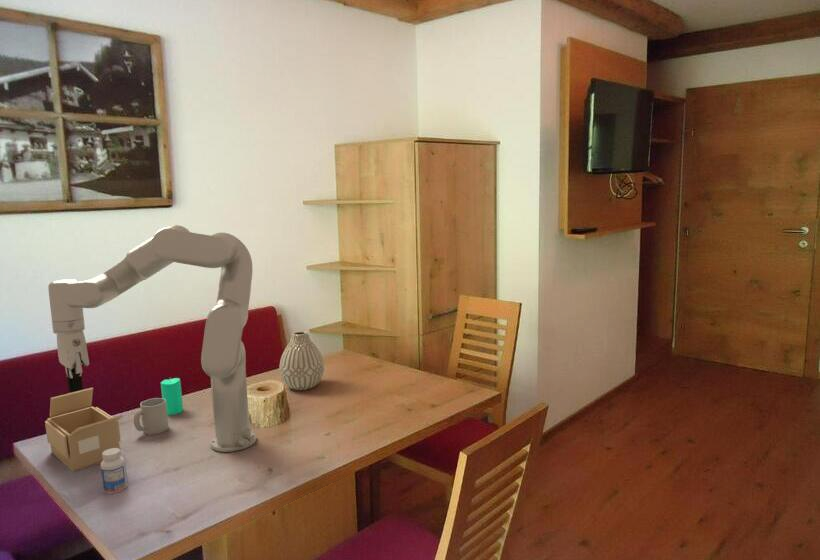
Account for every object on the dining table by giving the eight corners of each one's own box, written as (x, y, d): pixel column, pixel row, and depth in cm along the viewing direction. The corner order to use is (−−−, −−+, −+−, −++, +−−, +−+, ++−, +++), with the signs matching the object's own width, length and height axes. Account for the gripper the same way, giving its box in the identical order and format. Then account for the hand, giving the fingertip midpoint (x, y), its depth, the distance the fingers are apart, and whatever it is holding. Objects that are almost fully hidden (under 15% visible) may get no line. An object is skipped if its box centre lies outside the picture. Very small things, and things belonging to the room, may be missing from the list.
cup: (173, 428, 185) (170, 401, 184) (141, 440, 178) (138, 411, 176) (160, 423, 190) (158, 396, 188) (129, 434, 182) (126, 406, 181)
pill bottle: (109, 483, 152) (104, 447, 150) (131, 482, 152) (127, 445, 151) (99, 494, 147) (95, 457, 145) (123, 493, 147) (118, 455, 145)
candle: (186, 408, 202) (183, 373, 200) (177, 414, 196) (174, 379, 194) (169, 407, 203) (165, 373, 201) (160, 414, 197) (156, 379, 195)
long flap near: (114, 422, 165) (122, 416, 160) (71, 435, 157) (78, 429, 153) (114, 420, 165) (122, 415, 160) (71, 433, 158) (78, 427, 153)
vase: (321, 393, 212) (318, 338, 209) (276, 394, 212) (272, 339, 209) (328, 378, 228) (325, 326, 224) (286, 379, 228) (282, 328, 225)
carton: (123, 455, 168) (119, 420, 166) (70, 473, 158) (65, 437, 157) (99, 437, 181) (95, 405, 179) (48, 453, 171) (43, 419, 169)
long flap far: (91, 405, 177) (93, 388, 174) (50, 417, 169) (51, 399, 166) (90, 404, 177) (92, 387, 174) (49, 415, 170) (50, 397, 166)
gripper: (93, 327, 161) (100, 393, 164) (74, 319, 171) (80, 381, 174) (62, 332, 156) (69, 400, 159) (44, 323, 166) (51, 388, 169)
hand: (75, 390), depth 166 cm, fingers closed
